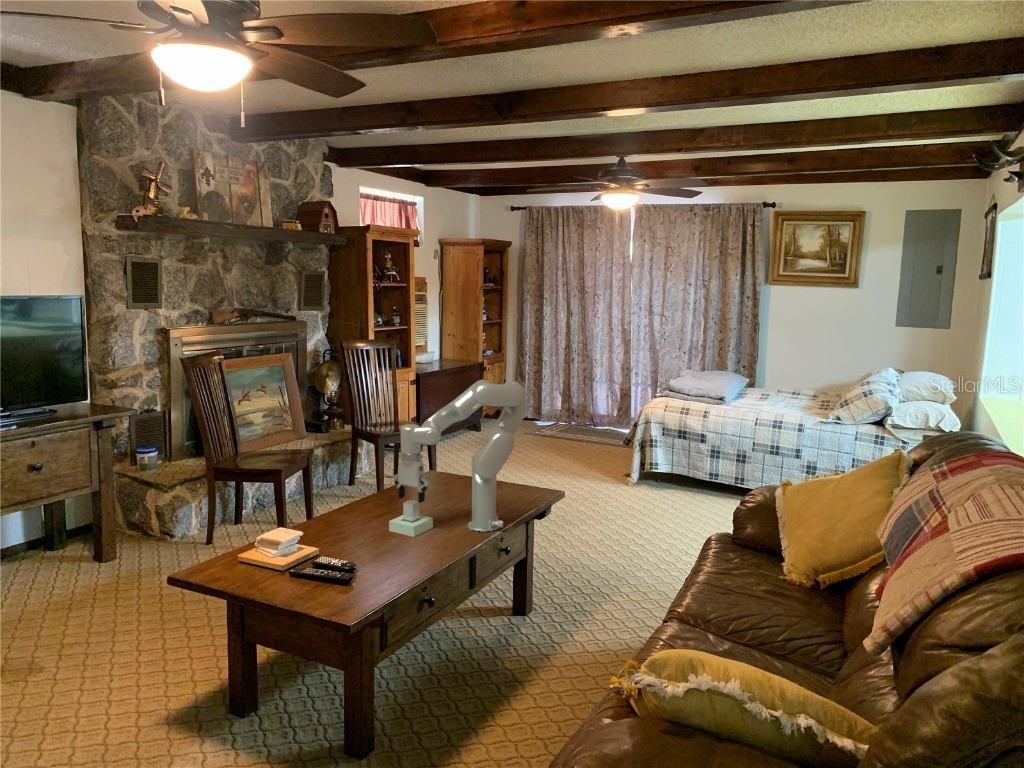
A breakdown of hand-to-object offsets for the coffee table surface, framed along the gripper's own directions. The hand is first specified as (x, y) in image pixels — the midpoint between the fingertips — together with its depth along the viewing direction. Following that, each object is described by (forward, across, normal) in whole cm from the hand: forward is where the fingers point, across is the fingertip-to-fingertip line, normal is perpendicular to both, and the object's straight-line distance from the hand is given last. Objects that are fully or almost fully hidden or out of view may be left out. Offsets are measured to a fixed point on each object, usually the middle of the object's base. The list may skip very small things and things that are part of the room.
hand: (411, 499), depth 278 cm
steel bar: (+12, 0, 0) cm, 12 cm away
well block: (+12, 0, 0) cm, 12 cm away
